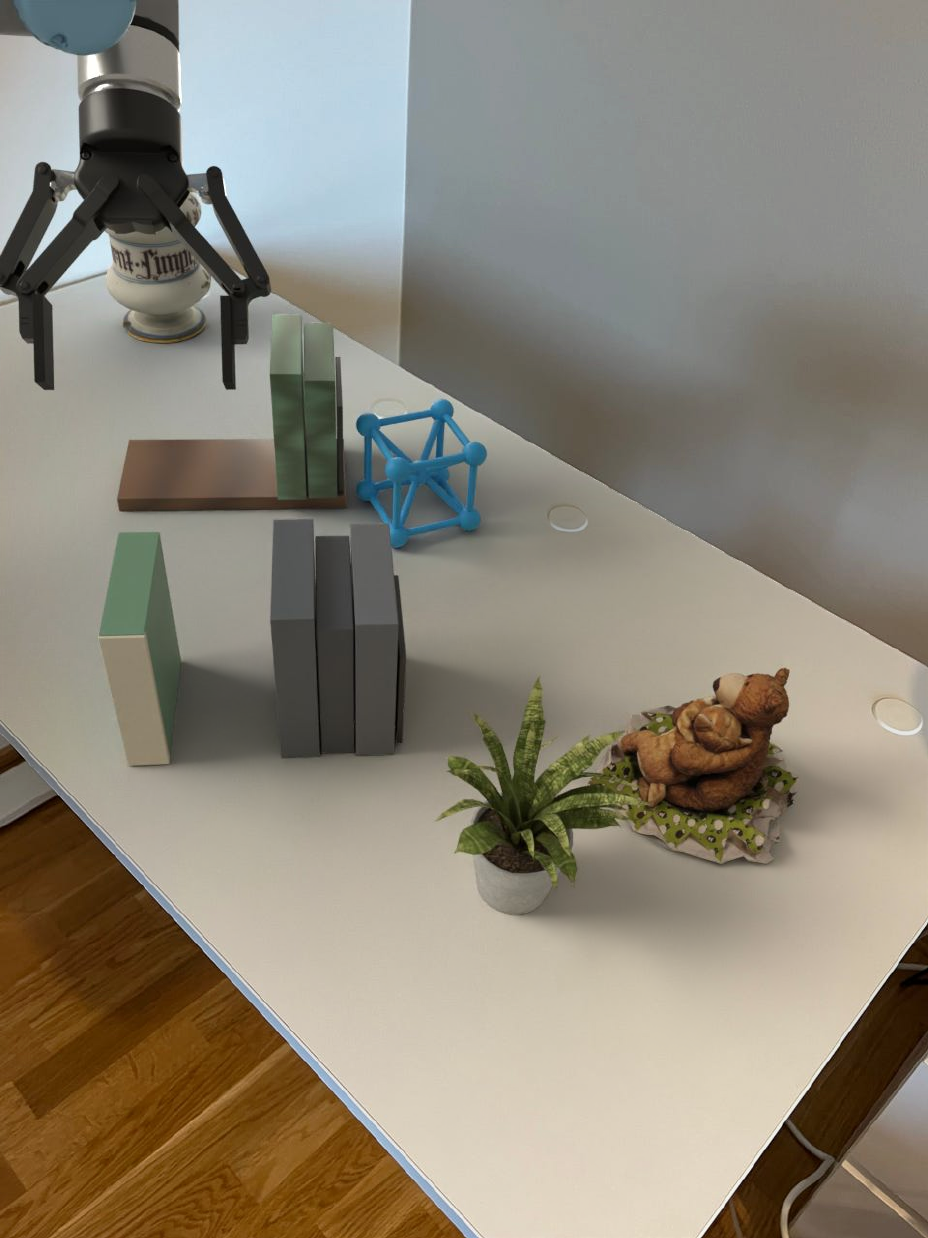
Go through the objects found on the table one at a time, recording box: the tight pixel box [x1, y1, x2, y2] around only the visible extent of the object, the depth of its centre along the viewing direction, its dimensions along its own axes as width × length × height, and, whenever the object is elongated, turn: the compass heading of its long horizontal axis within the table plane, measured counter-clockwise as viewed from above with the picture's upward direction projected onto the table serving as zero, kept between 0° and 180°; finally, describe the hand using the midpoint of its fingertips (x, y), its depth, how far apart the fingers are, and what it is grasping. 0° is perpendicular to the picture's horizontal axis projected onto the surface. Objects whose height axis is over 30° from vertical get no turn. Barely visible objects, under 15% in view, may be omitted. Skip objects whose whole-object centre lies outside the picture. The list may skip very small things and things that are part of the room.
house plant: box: [433, 676, 653, 916], centre depth 70 cm, size 14×14×16 cm
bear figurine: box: [587, 667, 799, 865], centre depth 80 cm, size 14×15×12 cm
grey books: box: [269, 518, 407, 759], centre depth 83 cm, size 10×11×15 cm
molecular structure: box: [355, 398, 488, 549], centre depth 103 cm, size 10×10×10 cm
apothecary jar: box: [104, 192, 212, 344], centre depth 124 cm, size 12×12×18 cm
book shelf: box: [116, 313, 348, 512], centre depth 103 cm, size 22×11×16 cm, turn 96°
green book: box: [97, 531, 182, 767], centre depth 81 cm, size 3×11×14 cm, turn 6°
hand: (137, 386), depth 81 cm, fingers open, 13 cm apart
